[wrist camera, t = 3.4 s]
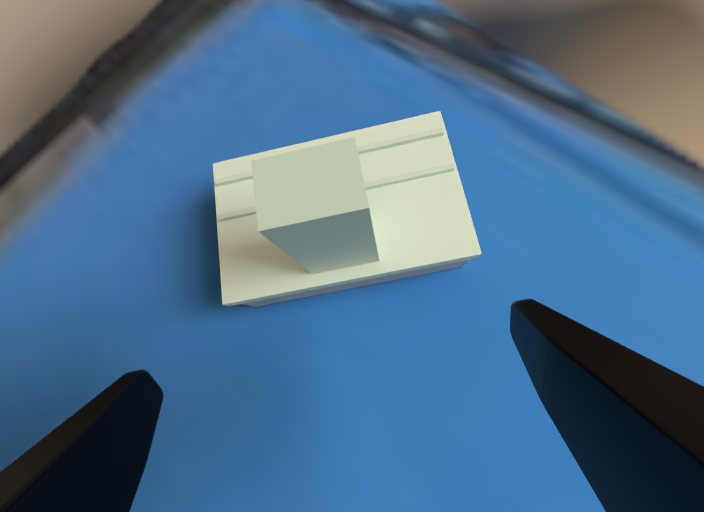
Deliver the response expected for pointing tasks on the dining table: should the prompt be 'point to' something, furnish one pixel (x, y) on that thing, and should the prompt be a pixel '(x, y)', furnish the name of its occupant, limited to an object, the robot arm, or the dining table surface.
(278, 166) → the pale green grooved stand
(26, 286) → the dining table surface
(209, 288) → the dining table surface
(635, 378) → the robot arm
